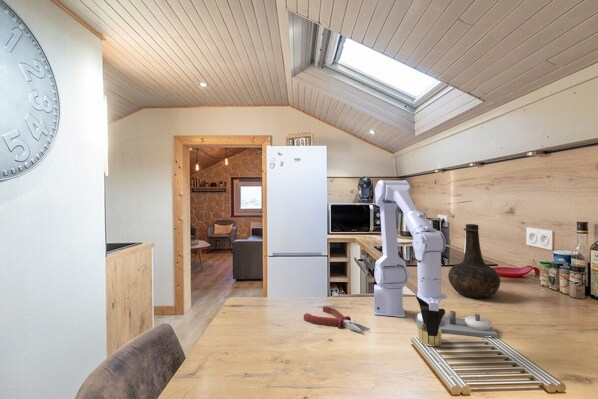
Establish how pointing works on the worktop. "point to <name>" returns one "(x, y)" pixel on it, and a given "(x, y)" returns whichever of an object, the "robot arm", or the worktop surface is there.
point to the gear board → (463, 325)
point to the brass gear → (429, 339)
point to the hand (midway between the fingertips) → (429, 329)
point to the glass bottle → (473, 270)
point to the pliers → (335, 320)
